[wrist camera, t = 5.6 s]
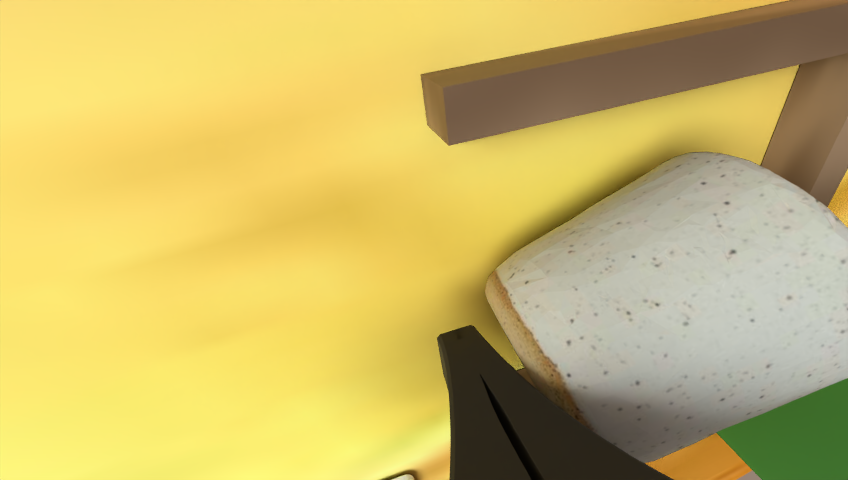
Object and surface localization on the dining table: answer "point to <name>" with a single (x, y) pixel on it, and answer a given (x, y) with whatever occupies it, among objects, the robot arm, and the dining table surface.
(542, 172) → the dining table surface
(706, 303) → the ceramic mug
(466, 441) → the robot arm
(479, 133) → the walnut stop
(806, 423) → the hardback book
